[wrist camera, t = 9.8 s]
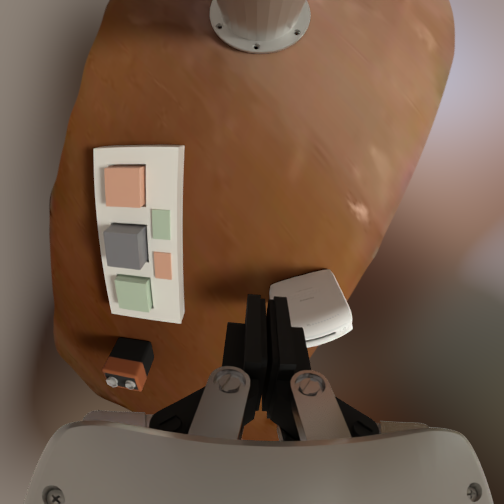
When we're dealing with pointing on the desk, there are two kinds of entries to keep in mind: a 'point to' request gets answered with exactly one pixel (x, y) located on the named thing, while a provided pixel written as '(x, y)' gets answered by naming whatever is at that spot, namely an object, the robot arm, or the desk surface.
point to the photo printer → (315, 306)
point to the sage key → (134, 292)
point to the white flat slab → (148, 225)
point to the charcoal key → (126, 246)
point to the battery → (129, 364)
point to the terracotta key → (125, 185)
